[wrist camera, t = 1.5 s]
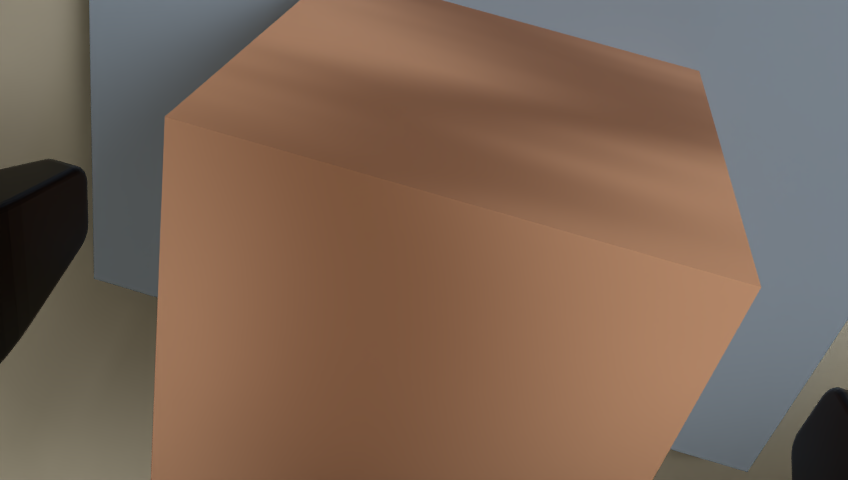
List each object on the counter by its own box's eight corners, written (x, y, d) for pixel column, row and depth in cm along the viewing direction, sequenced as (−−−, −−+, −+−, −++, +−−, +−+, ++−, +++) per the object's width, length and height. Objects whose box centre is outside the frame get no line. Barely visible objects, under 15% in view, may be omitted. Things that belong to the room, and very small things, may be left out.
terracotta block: (699, 71, 11) (761, 287, 6) (579, 350, 13) (567, 630, 9) (334, -30, 11) (164, 116, 7) (290, 266, 14) (150, 502, 9)
